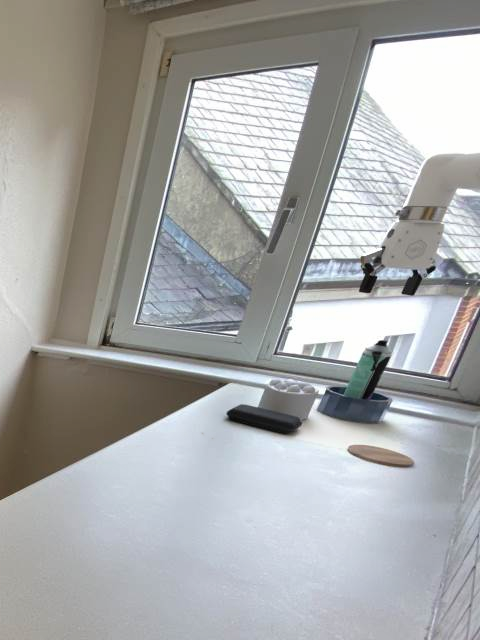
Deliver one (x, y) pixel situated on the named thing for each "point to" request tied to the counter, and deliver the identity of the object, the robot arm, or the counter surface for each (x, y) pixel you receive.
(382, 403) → the bowl
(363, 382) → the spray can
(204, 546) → the counter surface
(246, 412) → the carrying case
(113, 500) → the counter surface
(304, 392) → the white pebble pot
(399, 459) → the coaster
